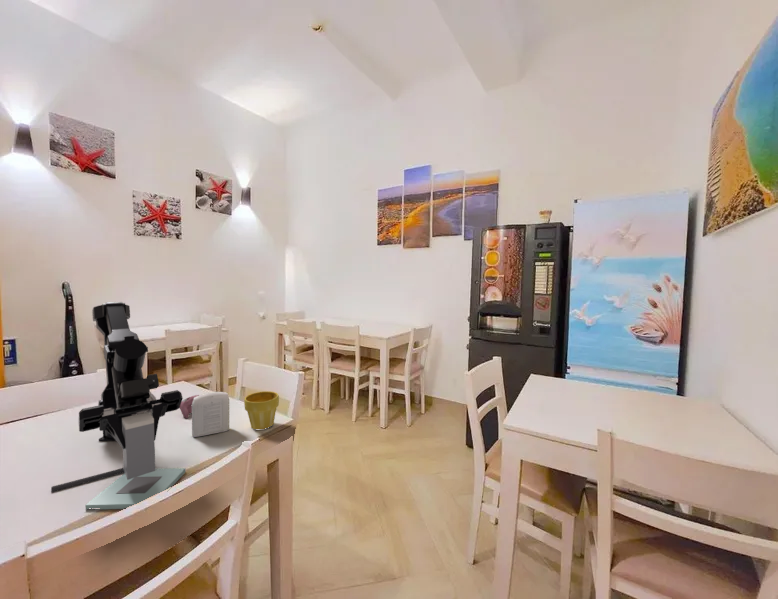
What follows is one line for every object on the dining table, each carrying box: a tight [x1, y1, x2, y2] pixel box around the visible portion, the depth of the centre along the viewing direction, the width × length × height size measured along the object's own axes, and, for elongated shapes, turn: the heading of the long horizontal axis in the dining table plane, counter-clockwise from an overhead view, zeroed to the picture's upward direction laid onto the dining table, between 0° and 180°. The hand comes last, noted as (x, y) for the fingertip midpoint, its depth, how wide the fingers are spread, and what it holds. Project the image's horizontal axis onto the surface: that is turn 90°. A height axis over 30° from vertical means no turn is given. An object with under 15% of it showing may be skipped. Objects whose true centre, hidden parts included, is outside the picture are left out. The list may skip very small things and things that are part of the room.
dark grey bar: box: [50, 467, 125, 493], centre depth 80 cm, size 15×1×1 cm, turn 128°
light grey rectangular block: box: [122, 411, 156, 480], centre depth 76 cm, size 5×5×12 cm
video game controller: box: [179, 394, 200, 419], centre depth 119 cm, size 10×5×7 cm, turn 145°
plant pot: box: [243, 390, 280, 430], centre depth 109 cm, size 10×10×10 cm
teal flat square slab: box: [85, 467, 186, 510], centre depth 76 cm, size 13×13×1 cm
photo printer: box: [191, 391, 230, 438], centre depth 104 cm, size 10×4×12 cm, turn 123°
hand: (139, 444), depth 75 cm, fingers closed on light grey rectangular block, 5 cm apart
